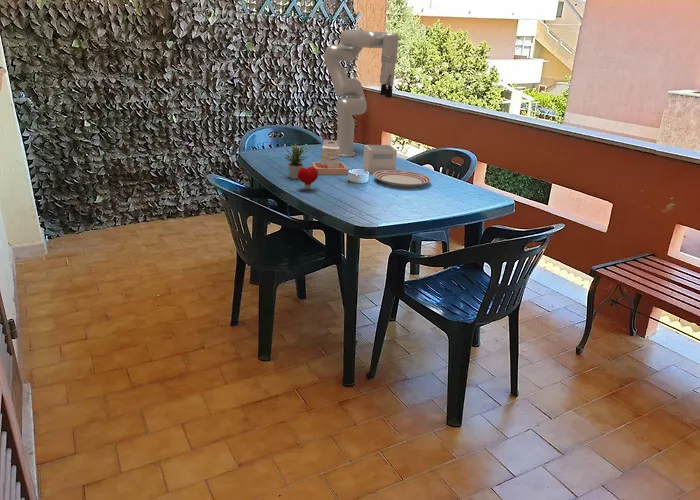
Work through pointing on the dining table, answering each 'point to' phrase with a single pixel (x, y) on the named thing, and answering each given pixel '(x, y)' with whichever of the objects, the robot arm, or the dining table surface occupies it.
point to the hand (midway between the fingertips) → (385, 96)
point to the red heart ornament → (308, 176)
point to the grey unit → (379, 158)
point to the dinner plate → (401, 178)
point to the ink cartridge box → (330, 154)
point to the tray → (330, 169)
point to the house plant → (295, 161)
